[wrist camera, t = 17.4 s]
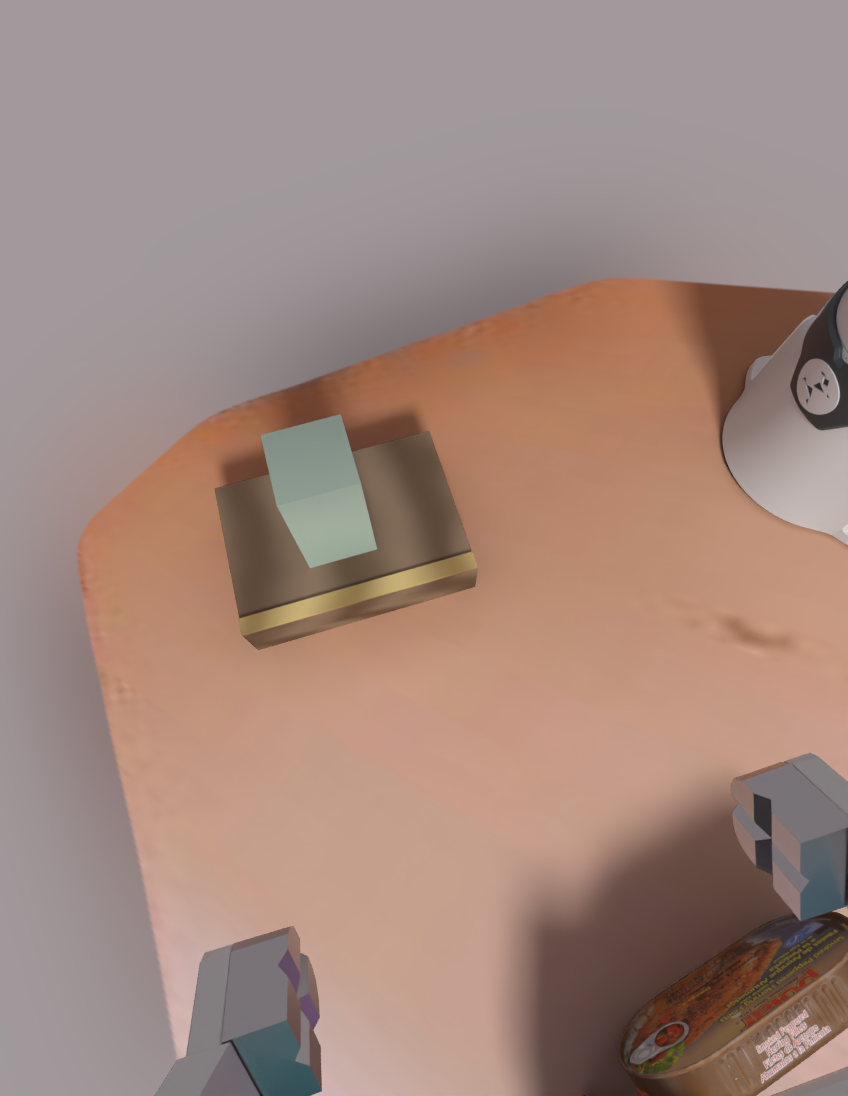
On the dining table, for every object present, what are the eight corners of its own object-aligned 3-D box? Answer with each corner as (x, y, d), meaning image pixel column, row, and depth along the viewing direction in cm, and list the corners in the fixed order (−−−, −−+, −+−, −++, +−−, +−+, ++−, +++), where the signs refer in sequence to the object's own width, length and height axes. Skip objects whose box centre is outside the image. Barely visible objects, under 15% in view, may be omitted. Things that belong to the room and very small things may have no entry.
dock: (430, 457, 54) (429, 428, 50) (475, 586, 50) (477, 566, 46) (230, 511, 53) (213, 486, 49) (258, 650, 48) (241, 634, 44)
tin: (798, 899, 41) (880, 917, 34) (833, 950, 40) (926, 981, 32) (599, 1032, 39) (638, 1085, 31) (630, 1090, 38) (678, 1160, 30)
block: (360, 490, 49) (340, 413, 40) (377, 549, 47) (360, 483, 38) (295, 508, 48) (260, 435, 39) (310, 568, 47) (276, 506, 37)
